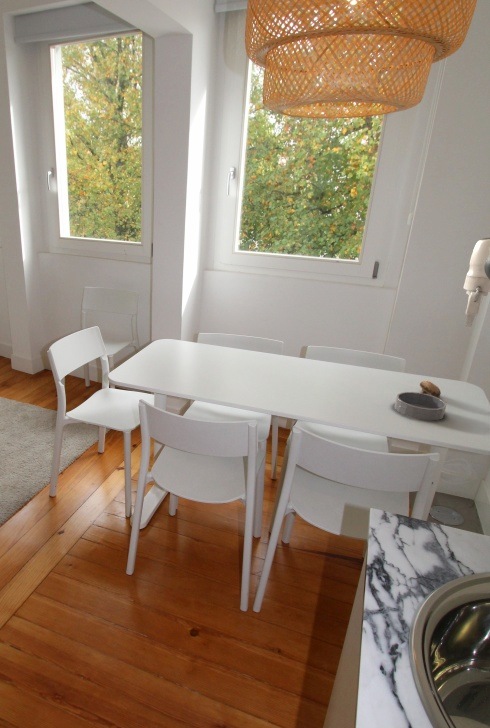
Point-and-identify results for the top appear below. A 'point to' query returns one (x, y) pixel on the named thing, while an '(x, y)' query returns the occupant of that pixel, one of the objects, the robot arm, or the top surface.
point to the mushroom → (430, 389)
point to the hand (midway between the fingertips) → (468, 323)
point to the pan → (420, 406)
